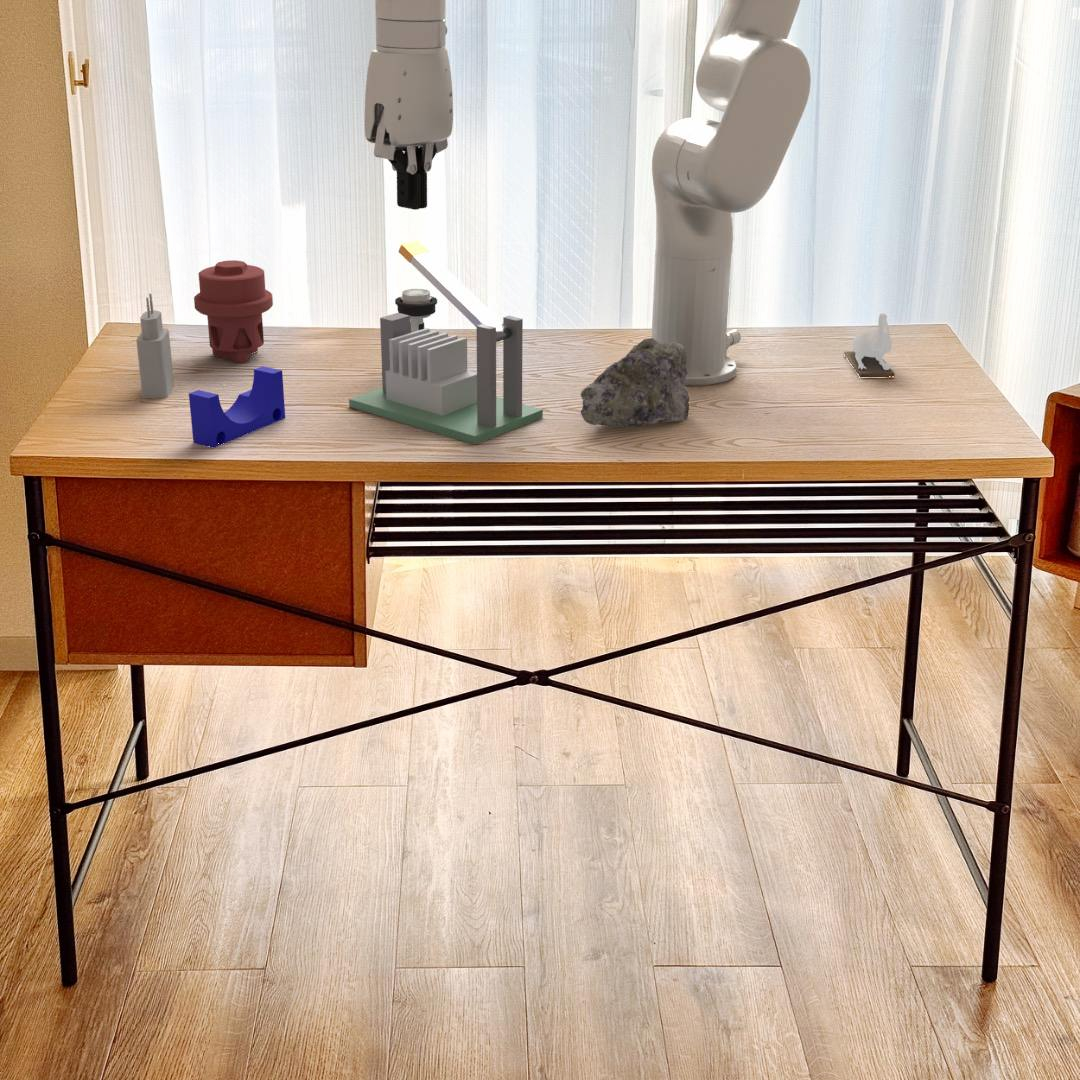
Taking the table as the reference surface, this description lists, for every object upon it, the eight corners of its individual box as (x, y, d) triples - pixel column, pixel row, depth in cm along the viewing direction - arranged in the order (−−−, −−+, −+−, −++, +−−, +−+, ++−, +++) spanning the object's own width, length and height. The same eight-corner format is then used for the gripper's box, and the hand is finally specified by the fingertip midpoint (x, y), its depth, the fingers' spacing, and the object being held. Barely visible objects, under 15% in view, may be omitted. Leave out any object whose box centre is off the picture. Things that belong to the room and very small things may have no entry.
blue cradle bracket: (256, 412, 173) (252, 363, 171) (285, 419, 171) (282, 370, 169) (183, 442, 164) (178, 391, 162) (213, 449, 162) (209, 398, 159)
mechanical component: (183, 358, 192) (239, 341, 200) (236, 372, 187) (292, 354, 194) (174, 265, 187) (232, 251, 195) (229, 277, 182) (286, 262, 189)
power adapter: (141, 398, 177) (130, 301, 172) (149, 384, 182) (140, 289, 177) (167, 398, 177) (157, 301, 172) (175, 384, 182) (166, 289, 177)
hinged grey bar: (414, 248, 170) (418, 239, 169) (509, 340, 165) (513, 332, 165) (397, 252, 168) (401, 243, 167) (493, 345, 163) (497, 337, 163)
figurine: (903, 390, 184) (909, 322, 180) (867, 390, 183) (873, 323, 180) (876, 356, 196) (882, 293, 193) (842, 357, 196) (848, 293, 193)
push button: (432, 378, 185) (430, 301, 181) (391, 376, 186) (388, 299, 182) (441, 363, 191) (440, 287, 187) (401, 361, 192) (399, 286, 188)
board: (418, 383, 183) (415, 285, 178) (542, 417, 172) (543, 313, 167) (349, 406, 175) (344, 304, 170) (475, 444, 163) (474, 336, 158)
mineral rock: (579, 436, 166) (581, 351, 162) (578, 406, 176) (580, 324, 172) (693, 438, 166) (698, 353, 162) (685, 407, 176) (690, 326, 172)
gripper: (432, 31, 166) (432, 194, 173) (336, 37, 155) (341, 211, 163) (482, 36, 162) (480, 203, 169) (387, 43, 151) (389, 221, 158)
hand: (412, 206), depth 166 cm, fingers closed
